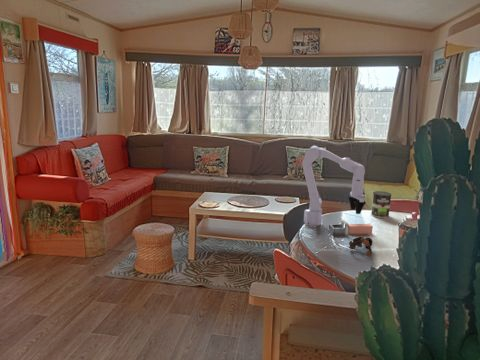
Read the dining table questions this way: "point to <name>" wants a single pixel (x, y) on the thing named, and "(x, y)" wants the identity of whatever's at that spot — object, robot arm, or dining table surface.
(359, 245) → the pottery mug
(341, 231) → the dispenser
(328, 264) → the dining table surface
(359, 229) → the copper rectangular block
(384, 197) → the coffee can
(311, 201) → the robot arm
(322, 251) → the dining table surface
